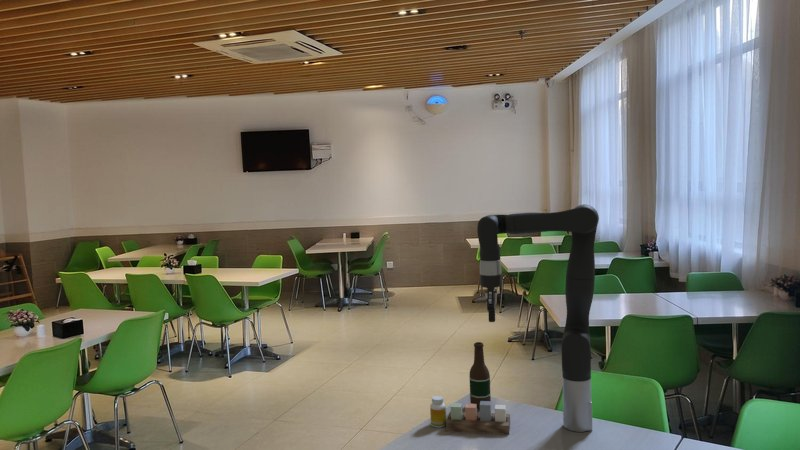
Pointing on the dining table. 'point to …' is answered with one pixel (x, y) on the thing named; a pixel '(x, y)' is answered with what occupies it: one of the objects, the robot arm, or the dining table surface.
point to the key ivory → (500, 413)
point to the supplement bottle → (438, 412)
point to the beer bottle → (479, 377)
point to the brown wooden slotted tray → (478, 425)
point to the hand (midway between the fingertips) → (492, 321)
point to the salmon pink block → (471, 412)
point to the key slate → (485, 411)
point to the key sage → (456, 411)
